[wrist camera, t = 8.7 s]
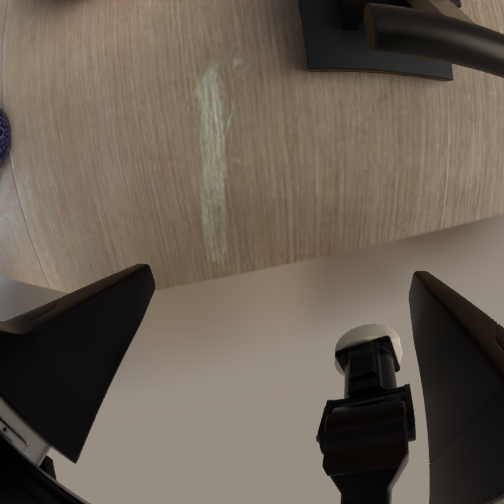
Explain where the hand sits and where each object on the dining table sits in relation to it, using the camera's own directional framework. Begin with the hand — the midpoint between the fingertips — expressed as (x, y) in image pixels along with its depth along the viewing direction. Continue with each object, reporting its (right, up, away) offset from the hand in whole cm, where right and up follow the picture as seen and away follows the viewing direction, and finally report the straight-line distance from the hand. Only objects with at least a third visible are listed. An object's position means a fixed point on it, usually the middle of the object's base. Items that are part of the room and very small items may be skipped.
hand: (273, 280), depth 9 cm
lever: (+6, +10, -2) cm, 12 cm away
